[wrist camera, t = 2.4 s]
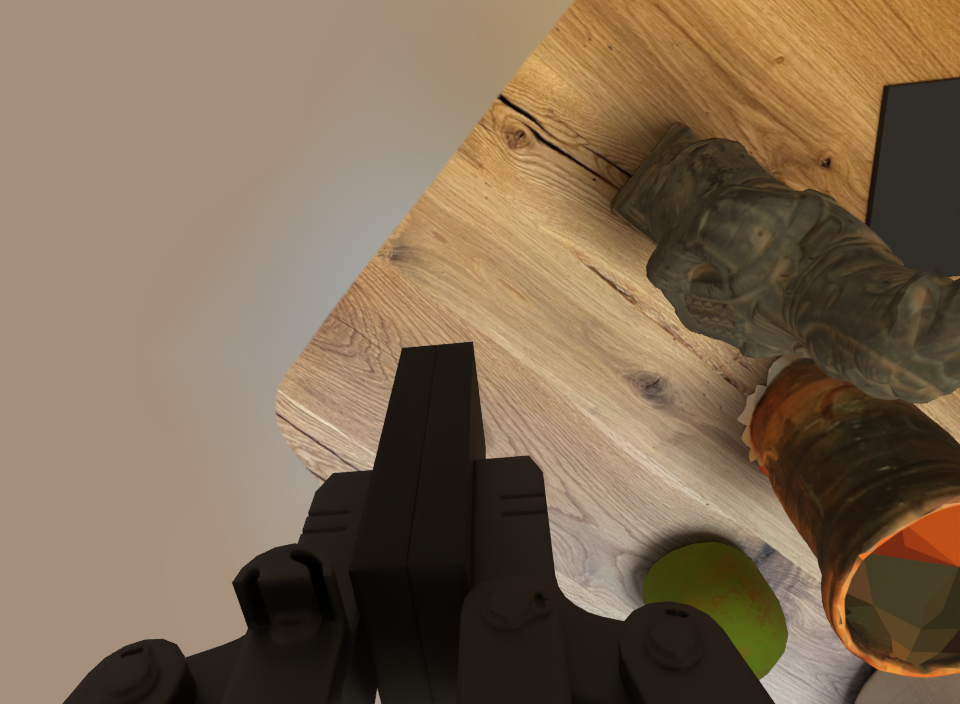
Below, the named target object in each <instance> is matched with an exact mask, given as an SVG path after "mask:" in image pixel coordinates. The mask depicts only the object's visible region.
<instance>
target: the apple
mask: <svg viewBox="0 0 960 704" xmlns="http://www.w3.org/2000/svg"><path fill="white" fill-rule="evenodd" d="M666 601H672V602H677V603H682V604H687V605H691V606H693V607H695V608H697V609H699V610H701V611H703V612H705V613H707V614H708V615H710V616H711V617H712V618H713V619H714V620H715V621H716V622H717V623H718V624H719V625H720V626H721V627H722V628H723V629H724V631H725V632H726V634H727V635H728V636H729V638H730V639H731V641H732V642H733V644H734V645H735V647H736V648H737V649H738V651H739V652H740V654H741V655H742V657H743V658H744V660H745V661H746V662H747V664H748V665H749V667H750V668H751V670H752V671H753V673H754V674H755V675H756V677H757V678H758V680H760V679H761V678H763V677H764V676H765V675H767V674H768V673H769V671H770V670H771V669H772V668H773V666H774V665H775V664H776V662H777V661H778V660H779V658H780V657H781V656H782V654H783V653H784V651H785V647H786V642H787V638H788V631H787V626H786V621H785V617H784V614H783V611H782V608H781V606H780V603H779V600H778V598H777V597H776V595H775V594H774V592H773V591H772V589H771V588H770V586H769V585H768V583H767V582H766V580H765V579H764V577H763V576H762V574H761V573H760V571H759V570H758V568H757V567H756V565H755V564H754V562H753V561H752V559H751V558H750V557H748V556H747V555H745V554H744V553H742V552H741V551H740V550H738V549H737V548H735V547H731V546H728V545H725V544H722V543H718V542H706V543H696V544H691V545H688V546H685V547H682V548H679V549H677V550H674V551H671V552H669V553H668V554H667V555H665V556H664V557H663V558H661V559H660V560H659V561H657V562H656V563H654V564H653V566H652V567H651V569H650V571H649V572H648V574H647V576H646V577H645V579H644V602H645V605H647V604H649V603H656V602H666Z"/></svg>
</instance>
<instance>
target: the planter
mask: <svg viewBox="0 0 960 704" xmlns="http://www.w3.org/2000/svg"><path fill="white" fill-rule="evenodd" d="M854 704H960V673H955V674H950V675H944V676H939V677H909V676H900V675H897V674H894V673H889V672H884V671H880V670H878V669H876V670H875V671H874V672H873V673H872V675H871V676H870V677H869V678H868V680H867V681H866V682H865V684H864V685H863V687H862V688H861V690H860V692H859V694H858V696H857V698H856V700H855V703H854Z"/></svg>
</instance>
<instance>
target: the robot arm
mask: <svg viewBox="0 0 960 704" xmlns="http://www.w3.org/2000/svg"><path fill="white" fill-rule="evenodd" d="M308 514H309V516H308V517H307V518H306V521H305V524H304V527H303V534H301V536H300V539H299V541H298V544H295V543H294V544H289V545H284V546H280V547H275V548H273V549H271V550H269V551H267V552H265V553H262V554H260V555H258V556H256V557H255V558H254V559H253V560H251V561H250V562H249V563H248V564H247V565H245V566H244V567H243V568H242V569H241V570H240V572H239V573H238V575H237V576H236V578H235V579H234V581H233V582H232V584H233V587H234V589H235V592H236V595H237V598H238V601H239V604H240V606H241V609H242V612H243V615H244V618H245V621H246V623H247V626H248V630H247V632H246V634H245V635H244V636H242V637H240V638H239V639H236V640H234V641H232V642H229V643H227V644H224V645H222V646H219V647H216V648H213V649H210V650H207V651H204V652H201V653H198V654H195V655H192V656H189V657H186V658H185V656H184V655H183V653H182V652H181V650H180V648H179V647H178V645H177V644H175V643H172V642H169V641H167V640H164V639H148V640H143V641H139V642H136V643H133V644H130V645H127V646H124V647H123V648H121V649H119V650H117V651H116V652H114V653H112V654H111V655H109V656H107V657H106V658H104V659H103V660H102V661H101V662H100V663H99V664H98V665H97V666H96V667H95V668H94V669H93V670H91V671H90V672H89V673H88V674H87V675H86V677H85V678H84V679H83V680H82V681H81V683H80V684H79V685H78V686H77V687H76V689H75V690H74V691H73V692H72V693H71V694H70V696H69V697H68V698H67V699H66V700H65V701H64V703H63V704H375V699H376V692H377V688H378V692H379V696H380V700H381V704H775V703H774V701H773V700H772V698H771V697H770V696H769V694H768V693H767V691H766V690H765V688H764V687H763V685H762V684H761V683H760V681H759V680H758V678H757V677H756V675H755V674H754V673H753V671H752V670H751V668H750V667H749V665H748V664H747V662H746V661H745V660H744V658H743V657H742V655H741V654H740V652H739V651H738V649H737V648H736V647H735V645H734V644H733V642H732V641H731V639H730V638H729V636H728V635H727V634H726V632H725V631H724V629H723V628H722V627H721V626H720V625H719V624H718V623H717V622H716V621H715V620H714V619H713V618H712V617H711V616H710V615H708V614H707V613H705V612H703V611H701V610H699V609H697V608H695V607H693V606H691V605H687V604H682V603H677V602H672V601H666V602H656V603H649V604H647V605H645V606H643V607H640V608H638V609H636V610H634V611H633V612H632V613H631V614H630V615H629V616H628V617H627V619H626V620H625V621H621V620H616V619H611V618H606V617H602V616H598V615H595V614H592V613H589V612H586V611H585V610H583V609H581V608H579V607H577V606H575V605H574V604H573V603H572V602H571V601H570V600H569V599H567V598H566V597H565V596H564V594H563V593H562V591H561V590H560V588H559V587H558V583H557V580H556V577H555V569H554V561H553V553H552V544H551V536H550V528H549V519H548V512H547V503H546V495H545V486H544V478H543V472H542V471H541V469H540V468H539V467H538V466H537V465H536V463H535V462H534V461H533V460H532V459H531V457H530V456H517V457H505V458H492V459H486V447H485V438H484V430H483V422H482V413H481V405H480V397H479V388H478V380H477V372H476V363H475V355H474V347H473V342H464V343H453V344H442V345H438V347H437V345H431V346H419V347H408V348H402V351H401V355H400V359H399V363H398V367H397V372H396V376H395V380H394V384H393V388H392V392H391V396H390V401H389V405H388V409H387V413H386V417H385V421H384V425H383V430H382V434H381V438H380V442H379V446H378V450H377V455H376V459H375V463H374V467H373V470H367V471H355V472H342V473H333V474H332V475H331V476H330V477H329V478H328V479H327V480H326V481H325V482H324V484H323V485H322V486H321V487H320V488H319V489H318V490H317V491H316V492H315V495H314V498H313V501H312V504H311V507H310V510H309V512H308Z"/></svg>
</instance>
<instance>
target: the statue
mask: <svg viewBox="0 0 960 704" xmlns="http://www.w3.org/2000/svg"><path fill="white" fill-rule="evenodd" d="M611 212H612V213H613V214H614V215H616V216H617V217H619V218H620V219H621V220H622V221H623V222H624V223H626V224H627V225H628V226H630V227H631V228H633V229H635V230H636V231H638V232H640V233H641V234H643V235H644V236H645V237H647V238H648V239H649V240H651V241H652V242H653V243H654V244H655V245H657V248H656V249H655V251H654V252H653V254H652V256H651V257H650V259H649V261H648V264H647V266H646V271H647V278H648V279H649V281H650V282H651V283H652V284H653V285H654V286H655V287H656V288H658V289H661V291H662V293H663V294H664V296H665V298H666V299H667V300H668V301H669V302H670V303H671V304H672V306H673V307H674V308H675V313H676V315H677V316H678V318H679V320H680V321H681V323H682V324H683V325H684V326H685V327H686V328H687V329H689V330H690V331H692V332H695V333H698V334H703V335H705V336H708V337H710V338H713V339H717V340H722V341H724V342H726V343H728V344H730V345H732V346H734V347H736V348H737V349H739V350H740V352H741V354H742V356H746V357H750V358H762V359H766V358H769V357H772V356H781V355H787V354H796V356H799V357H803V358H812V359H813V361H814V363H815V364H816V365H817V366H818V367H819V368H820V369H821V370H822V371H823V372H824V373H825V374H826V375H828V376H830V377H832V378H833V379H835V380H840V381H849V382H850V383H851V384H853V385H854V386H856V387H857V388H859V389H860V390H861V391H863V392H864V393H865V394H867V395H868V396H869V397H872V398H878V399H883V400H895V399H901V400H903V401H906V402H908V403H928V402H930V401H932V400H934V399H936V398H938V397H940V396H944V395H948V394H951V393H952V392H953V391H955V390H956V389H957V388H959V387H960V279H957V280H955V281H953V280H952V279H950V278H949V277H947V276H946V275H944V274H943V273H941V272H940V271H938V270H933V269H931V270H927V271H922V272H921V271H919V270H915V269H912V268H909V267H905V266H904V265H903V263H902V261H901V260H900V259H899V258H898V257H897V256H896V255H895V254H894V253H893V252H892V251H891V249H890V247H889V246H888V245H887V244H886V243H885V242H884V241H883V240H882V239H881V238H880V237H879V236H878V235H877V234H876V233H875V232H874V231H872V230H871V229H870V228H869V227H868V226H867V225H866V224H864V223H863V222H862V221H860V220H859V219H857V218H856V217H855V216H853V215H852V214H850V213H849V212H848V211H846V210H845V209H843V208H841V207H840V206H838V204H837V202H836V200H835V199H834V198H832V197H830V196H828V195H826V194H823V193H821V192H818V191H816V190H812V189H807V190H804V191H795V190H793V189H792V188H790V187H789V186H788V185H786V184H785V183H784V182H781V181H779V180H778V179H777V178H776V177H775V176H774V175H773V174H772V173H771V172H770V171H769V170H767V169H766V168H765V167H764V166H763V165H762V164H761V163H760V162H758V161H757V160H756V159H755V158H754V157H752V156H751V155H749V154H748V152H747V150H746V149H745V147H744V146H743V145H742V144H741V143H739V142H738V141H733V140H727V139H721V138H710V139H705V140H702V139H701V138H700V137H699V136H698V135H697V134H696V133H695V132H694V131H692V130H691V129H690V128H689V127H687V126H685V125H684V124H682V123H680V122H679V123H675V124H673V125H672V126H671V128H670V129H669V131H668V132H667V134H666V135H665V136H664V138H663V139H662V140H661V141H660V142H659V144H658V145H657V146H656V148H655V149H654V150H653V151H652V153H651V154H650V155H649V157H648V158H647V159H646V160H645V161H644V162H643V163H642V164H641V166H640V167H639V168H638V170H637V171H636V172H635V174H634V175H633V176H632V177H631V178H630V179H629V180H628V181H627V183H626V184H625V185H624V186H623V187H622V189H621V190H620V191H619V192H618V194H617V195H616V196H615V198H614V200H613V202H612V204H611Z"/></svg>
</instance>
